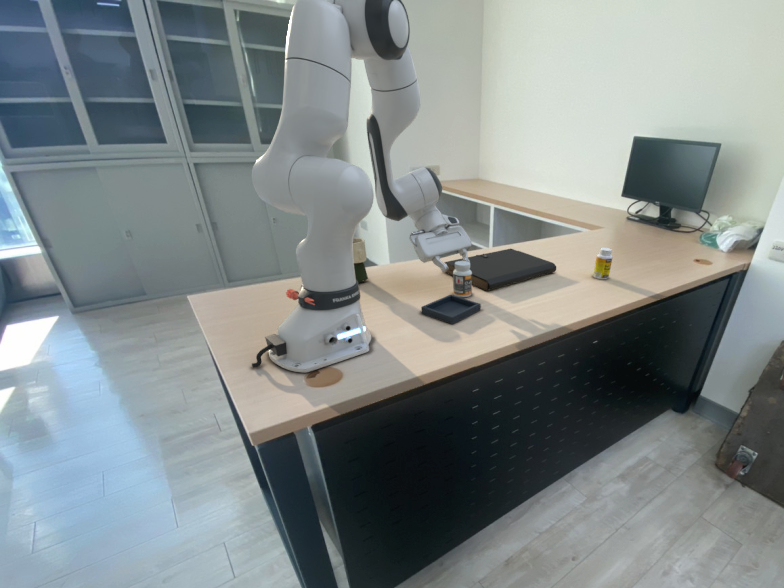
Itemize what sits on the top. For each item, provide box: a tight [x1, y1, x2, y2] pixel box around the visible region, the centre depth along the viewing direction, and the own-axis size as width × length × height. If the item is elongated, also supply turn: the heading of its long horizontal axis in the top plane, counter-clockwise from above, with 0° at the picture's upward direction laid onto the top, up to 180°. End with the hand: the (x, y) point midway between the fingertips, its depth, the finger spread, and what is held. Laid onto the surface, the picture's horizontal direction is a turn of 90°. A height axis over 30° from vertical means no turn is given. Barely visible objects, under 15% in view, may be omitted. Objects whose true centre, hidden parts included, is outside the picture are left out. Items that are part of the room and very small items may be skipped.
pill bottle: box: [452, 261, 473, 298], centre depth 123 cm, size 6×6×10 cm
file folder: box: [443, 248, 557, 292], centre depth 145 cm, size 33×4×24 cm
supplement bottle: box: [592, 247, 613, 280], centre depth 145 cm, size 6×6×10 cm
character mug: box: [353, 237, 369, 283], centre depth 128 cm, size 11×7×13 cm, turn 46°
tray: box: [420, 294, 482, 325], centre depth 114 cm, size 13×11×2 cm
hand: (457, 267), depth 123 cm, fingers open, 8 cm apart
